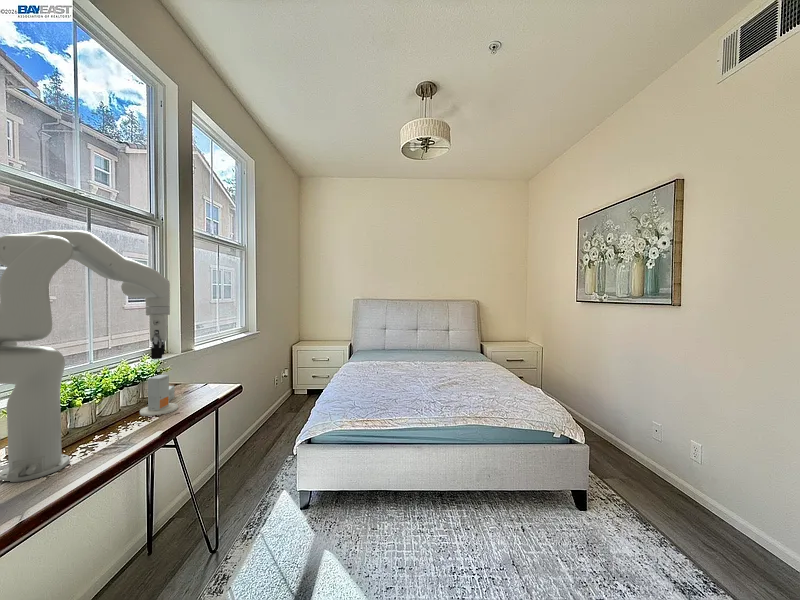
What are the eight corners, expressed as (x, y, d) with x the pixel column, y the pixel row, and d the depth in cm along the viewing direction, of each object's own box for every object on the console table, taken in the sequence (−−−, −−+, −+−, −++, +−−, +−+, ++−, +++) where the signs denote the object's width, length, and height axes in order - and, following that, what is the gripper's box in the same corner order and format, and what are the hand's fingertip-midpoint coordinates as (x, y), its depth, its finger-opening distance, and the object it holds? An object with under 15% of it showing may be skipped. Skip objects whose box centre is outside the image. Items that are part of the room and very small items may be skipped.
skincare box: (159, 410, 133) (158, 378, 132) (147, 410, 133) (147, 378, 132) (169, 405, 139) (169, 374, 138) (158, 405, 139) (158, 374, 138)
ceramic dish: (177, 413, 134) (177, 410, 134) (137, 418, 128) (137, 415, 128) (178, 403, 144) (178, 401, 144) (142, 408, 138) (142, 405, 138)
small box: (146, 404, 144) (146, 391, 144) (154, 398, 151) (154, 386, 151) (168, 402, 146) (168, 390, 146) (175, 397, 153) (175, 385, 153)
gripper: (167, 312, 129) (168, 359, 129) (171, 309, 144) (171, 352, 144) (142, 312, 125) (142, 361, 126) (148, 310, 140) (148, 353, 141)
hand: (158, 356), depth 135 cm, fingers open, 9 cm apart
